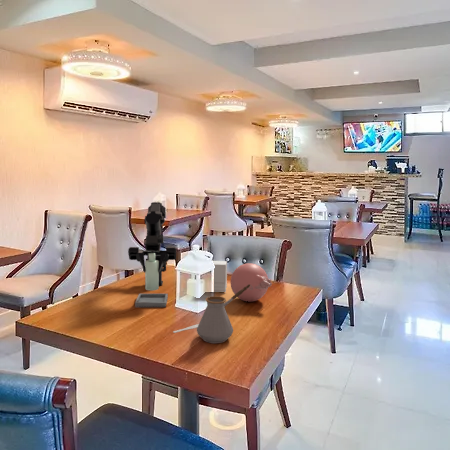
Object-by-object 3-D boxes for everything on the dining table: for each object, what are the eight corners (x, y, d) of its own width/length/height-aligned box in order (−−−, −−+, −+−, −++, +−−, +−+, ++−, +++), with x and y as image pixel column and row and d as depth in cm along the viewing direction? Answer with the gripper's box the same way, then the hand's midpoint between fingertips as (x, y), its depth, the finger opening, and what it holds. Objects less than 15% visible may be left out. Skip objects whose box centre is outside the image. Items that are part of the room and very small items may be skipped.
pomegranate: (252, 313, 153) (253, 272, 151) (222, 298, 169) (223, 261, 167) (283, 306, 161) (285, 268, 159) (252, 292, 178) (253, 258, 176)
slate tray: (139, 297, 168) (139, 293, 167) (167, 297, 168) (167, 293, 168) (135, 307, 156) (135, 302, 156) (165, 307, 157) (165, 302, 157)
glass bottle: (143, 287, 162) (143, 253, 160) (155, 285, 165) (155, 251, 163) (148, 291, 158) (148, 255, 156) (160, 289, 161) (160, 254, 159)
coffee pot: (212, 349, 122) (213, 300, 119) (189, 337, 130) (189, 291, 128) (262, 331, 136) (263, 287, 134) (238, 321, 144) (239, 280, 142)
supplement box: (226, 288, 184) (227, 260, 182) (225, 293, 176) (226, 264, 174) (210, 287, 184) (211, 260, 182) (208, 292, 177) (208, 263, 175)
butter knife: (204, 325, 139) (199, 323, 142) (140, 343, 124) (135, 339, 127) (204, 327, 139) (199, 324, 142) (140, 344, 124) (135, 341, 127)
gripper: (128, 227, 161) (125, 261, 152) (176, 227, 163) (175, 260, 154) (130, 242, 170) (127, 276, 161) (176, 243, 172) (175, 275, 163)
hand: (151, 271), depth 159 cm, fingers closed on glass bottle, 5 cm apart
